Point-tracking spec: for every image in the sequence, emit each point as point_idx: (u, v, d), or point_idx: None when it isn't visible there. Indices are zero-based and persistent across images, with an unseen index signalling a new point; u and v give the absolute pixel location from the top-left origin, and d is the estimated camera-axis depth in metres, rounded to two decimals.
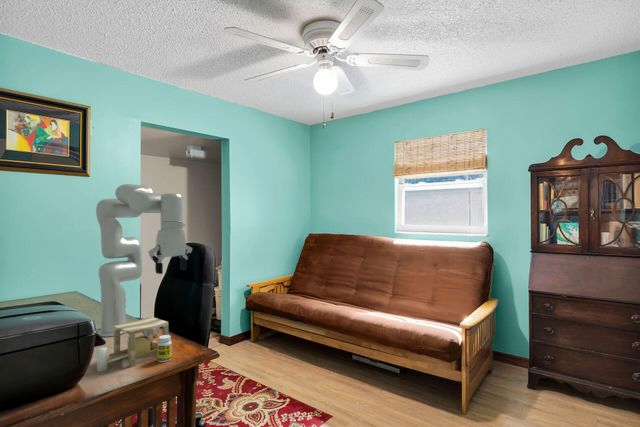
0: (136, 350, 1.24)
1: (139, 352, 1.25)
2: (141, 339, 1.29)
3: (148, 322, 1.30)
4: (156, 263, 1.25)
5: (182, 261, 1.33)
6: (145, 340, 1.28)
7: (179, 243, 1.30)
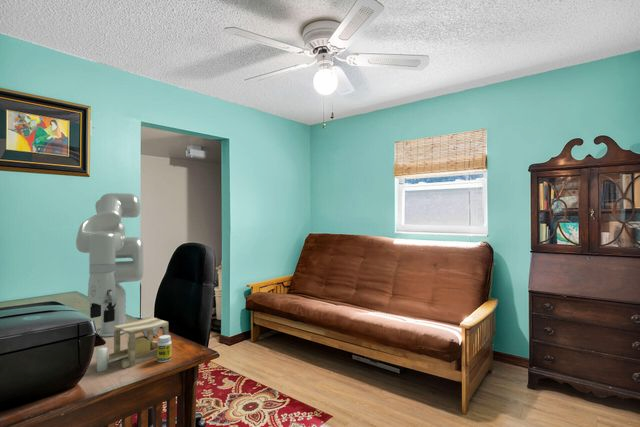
0: (136, 350, 1.24)
1: (139, 352, 1.25)
2: (141, 339, 1.29)
3: (148, 322, 1.30)
4: (110, 310, 1.14)
5: (97, 307, 1.20)
6: (145, 340, 1.28)
7: None
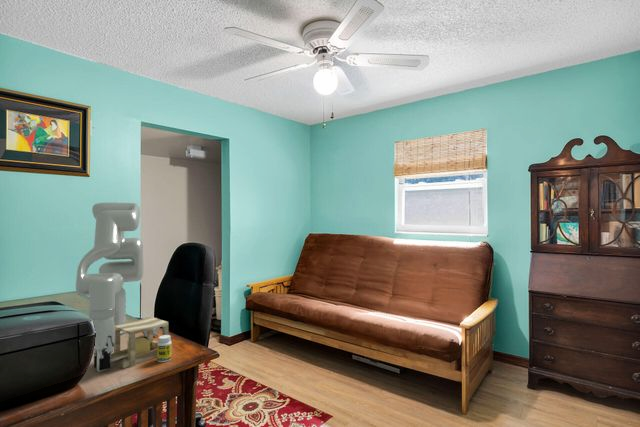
0: (136, 350, 1.24)
1: (139, 352, 1.25)
2: (141, 339, 1.29)
3: (148, 322, 1.30)
4: (105, 358, 1.15)
5: None
6: (145, 340, 1.28)
7: None
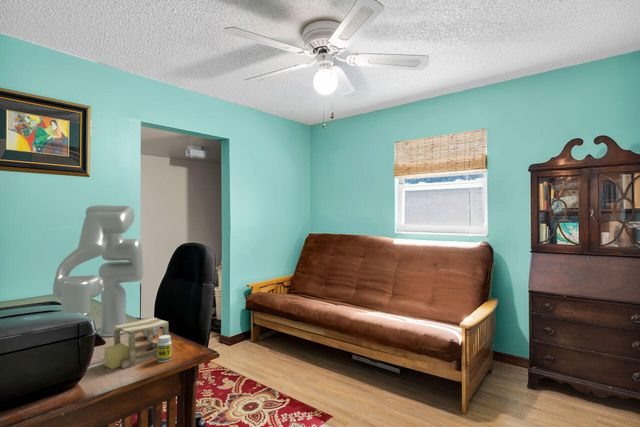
0: (113, 357, 1.18)
1: (116, 359, 1.19)
2: (119, 345, 1.23)
3: (148, 322, 1.30)
4: None
5: None
6: (123, 346, 1.22)
7: None
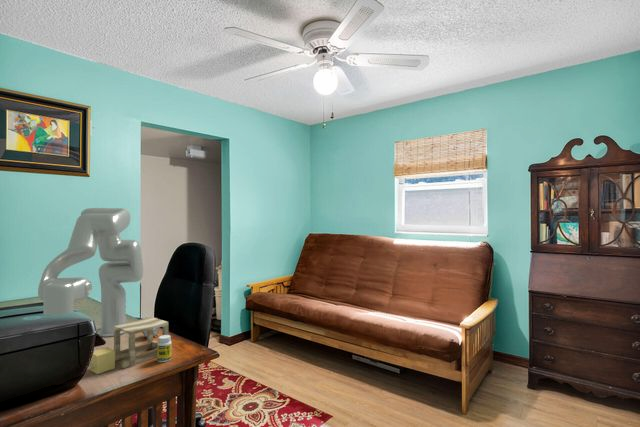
0: (98, 362, 1.14)
1: (102, 364, 1.15)
2: (105, 349, 1.19)
3: (148, 322, 1.30)
4: None
5: None
6: (109, 350, 1.18)
7: None
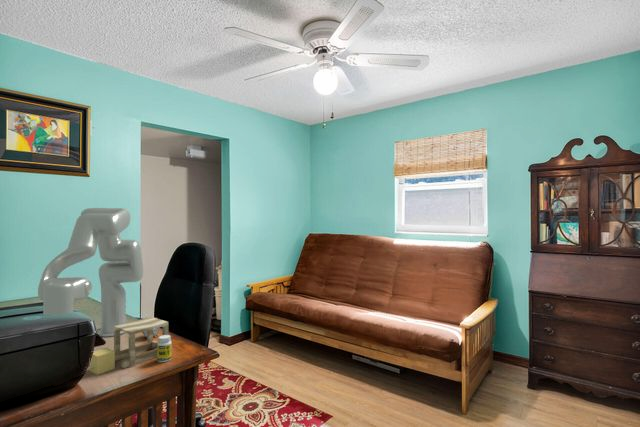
0: (98, 362, 1.14)
1: (101, 364, 1.15)
2: (105, 350, 1.19)
3: (148, 322, 1.30)
4: None
5: None
6: (109, 351, 1.18)
7: None
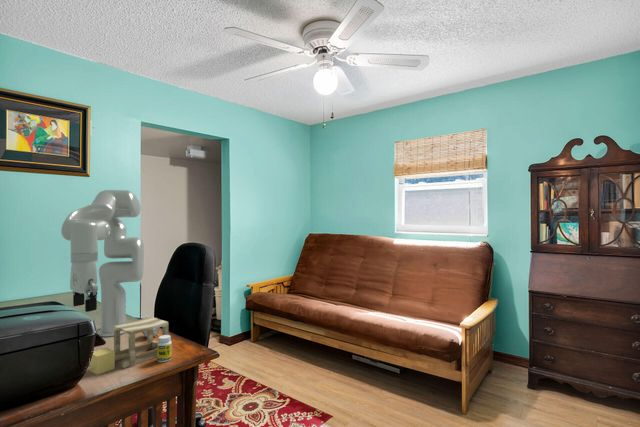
0: (98, 362, 1.14)
1: (101, 364, 1.15)
2: (105, 350, 1.19)
3: (148, 322, 1.30)
4: (92, 299, 1.13)
5: (80, 295, 1.19)
6: (109, 351, 1.18)
7: None
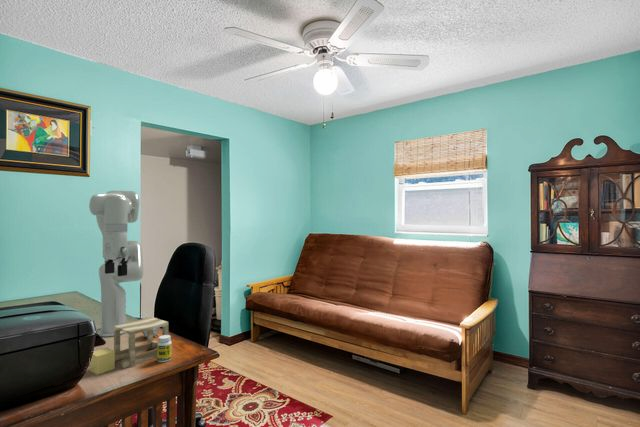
0: (98, 362, 1.14)
1: (101, 364, 1.15)
2: (105, 350, 1.19)
3: (148, 322, 1.30)
4: (123, 265, 1.26)
5: (111, 264, 1.32)
6: (109, 351, 1.18)
7: None
